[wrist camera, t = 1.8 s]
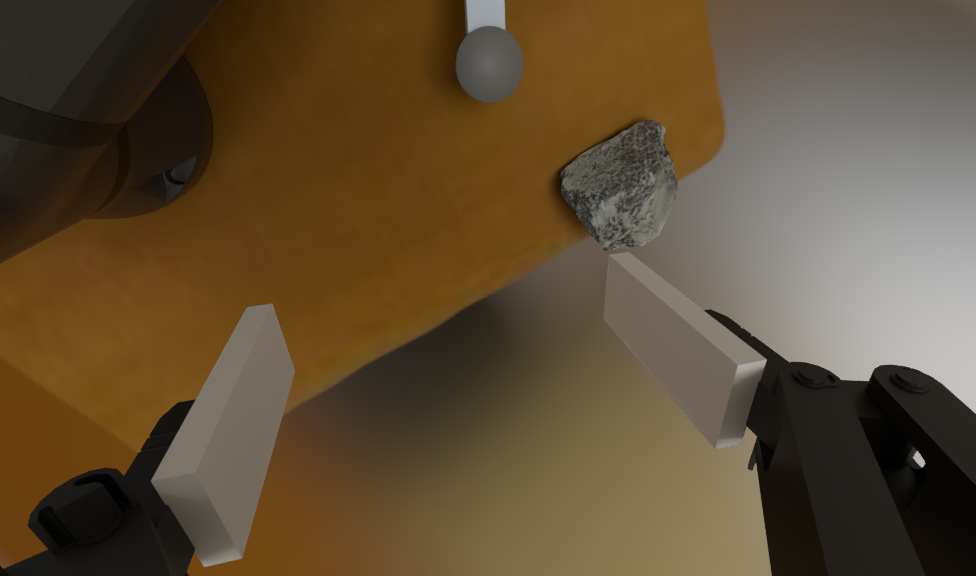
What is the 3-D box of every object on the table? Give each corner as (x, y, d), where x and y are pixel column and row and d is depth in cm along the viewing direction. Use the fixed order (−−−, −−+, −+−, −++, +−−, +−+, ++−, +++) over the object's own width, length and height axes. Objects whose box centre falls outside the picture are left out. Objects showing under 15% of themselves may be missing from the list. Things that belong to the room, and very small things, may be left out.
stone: (649, 144, 31) (651, 269, 36) (692, 113, 37) (688, 223, 42) (535, 148, 37) (549, 255, 42) (589, 121, 43) (596, 216, 48)
